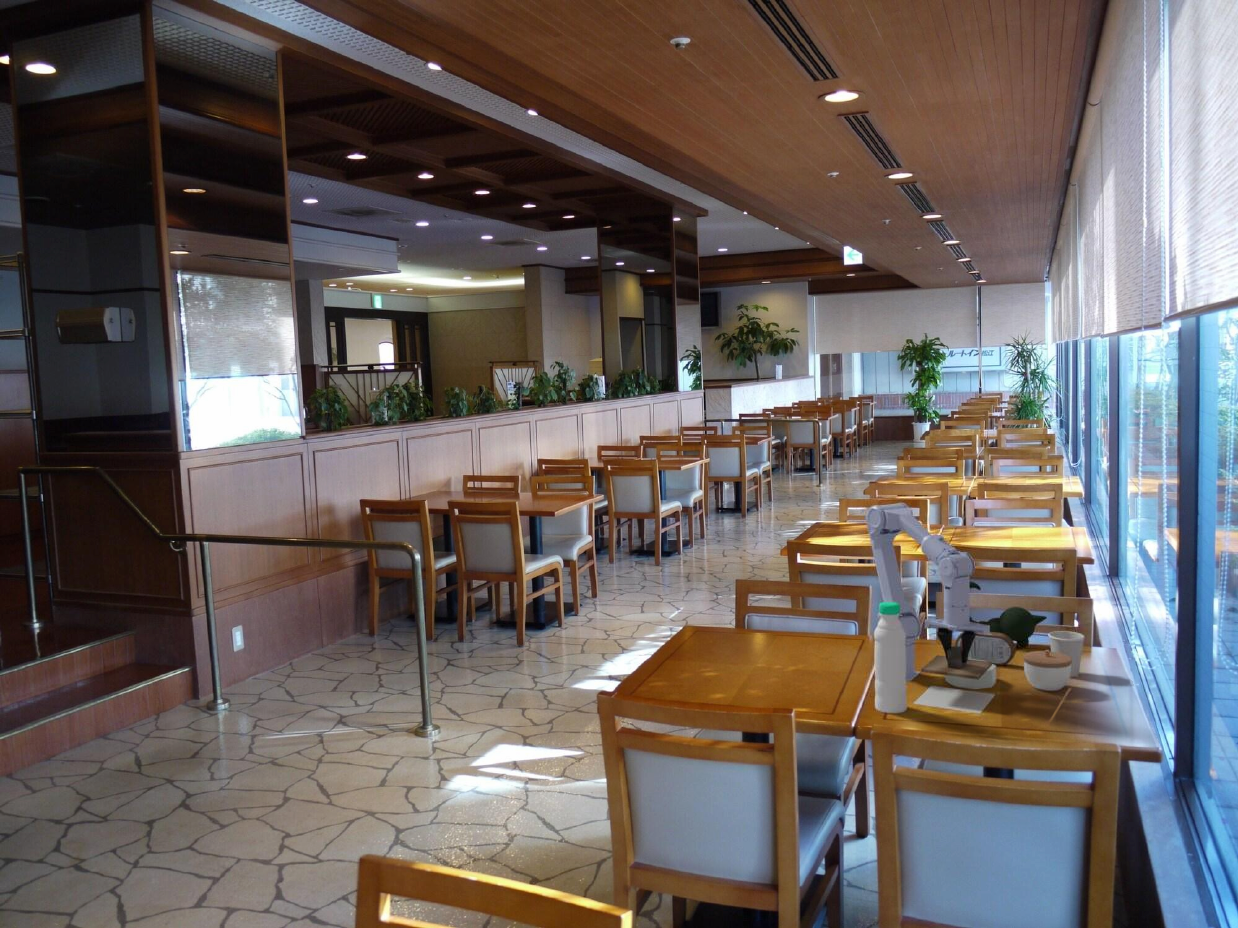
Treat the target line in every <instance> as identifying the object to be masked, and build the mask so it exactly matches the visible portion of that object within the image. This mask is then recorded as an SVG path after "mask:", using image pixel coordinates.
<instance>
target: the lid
mask: <svg viewBox="0 0 1238 928" xmlns="http://www.w3.org/2000/svg"><path fill="white" fill-rule="evenodd" d="M947 659H948V661H947V660H946V655H936V656H934V657H933V658H932V659H931V660H929V662H928V663H926V664H925V665H924V666H922V667H921V669H920V673H925V674H926V673H927V674H934V675H943V676H946V675H948V676H955V677H962V678H970V679H977V680H979V679H980V677H981V676H982V675H983V674H984V673H985V672H986V671H987V670H988V669H989V668H990V667H991V666H992V662H987V661H979V660H971V659H968V660H967V662H966V663H962V647H960V646H955V645H952V647H951V648H950V649H949V650H948V651H947Z"/></svg>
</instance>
